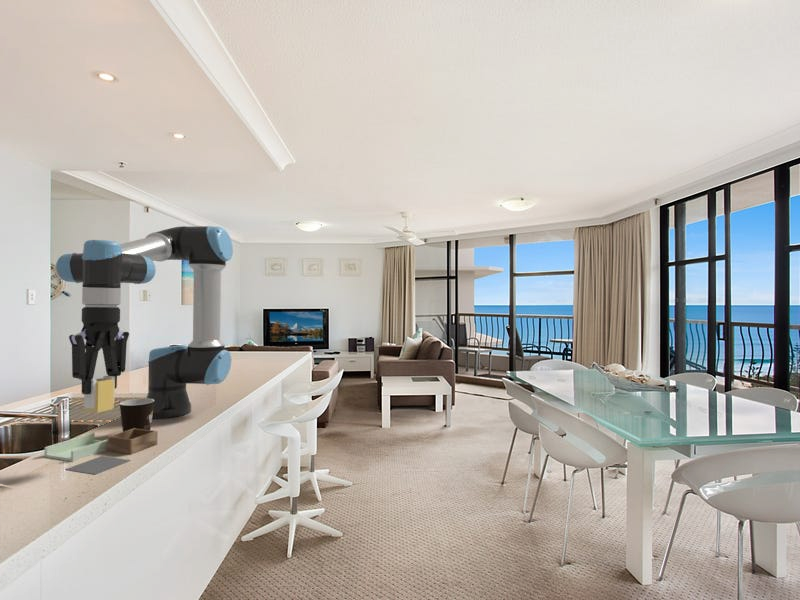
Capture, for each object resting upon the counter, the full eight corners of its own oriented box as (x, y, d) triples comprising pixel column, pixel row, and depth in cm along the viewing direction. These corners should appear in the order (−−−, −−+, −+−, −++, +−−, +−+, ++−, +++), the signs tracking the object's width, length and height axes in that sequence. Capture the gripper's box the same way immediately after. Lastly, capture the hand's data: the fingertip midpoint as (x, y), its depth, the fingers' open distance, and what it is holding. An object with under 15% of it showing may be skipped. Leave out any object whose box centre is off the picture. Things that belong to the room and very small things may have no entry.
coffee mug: (137, 442, 121) (138, 406, 121) (111, 440, 123) (112, 404, 123) (168, 430, 132) (168, 397, 132) (143, 428, 134) (144, 395, 134)
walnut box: (133, 442, 120) (134, 428, 120) (157, 445, 118) (157, 431, 118) (107, 452, 113) (107, 436, 113) (131, 455, 111) (131, 440, 111)
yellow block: (100, 407, 106) (101, 377, 106) (113, 408, 104) (114, 378, 104) (84, 411, 102) (85, 380, 102) (97, 412, 101) (98, 381, 101)
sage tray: (92, 443, 120) (92, 432, 120) (119, 446, 117) (119, 436, 117) (44, 458, 108) (44, 447, 108) (73, 463, 105) (73, 451, 105)
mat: (101, 458, 109) (101, 456, 109) (130, 462, 106) (130, 460, 106) (65, 471, 100) (65, 469, 100) (95, 476, 98) (95, 474, 98)
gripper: (121, 305, 112) (119, 396, 112) (52, 306, 96) (49, 412, 96) (144, 306, 110) (142, 399, 110) (77, 306, 94) (75, 415, 94)
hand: (99, 405), depth 103 cm, fingers closed on yellow block, 4 cm apart
